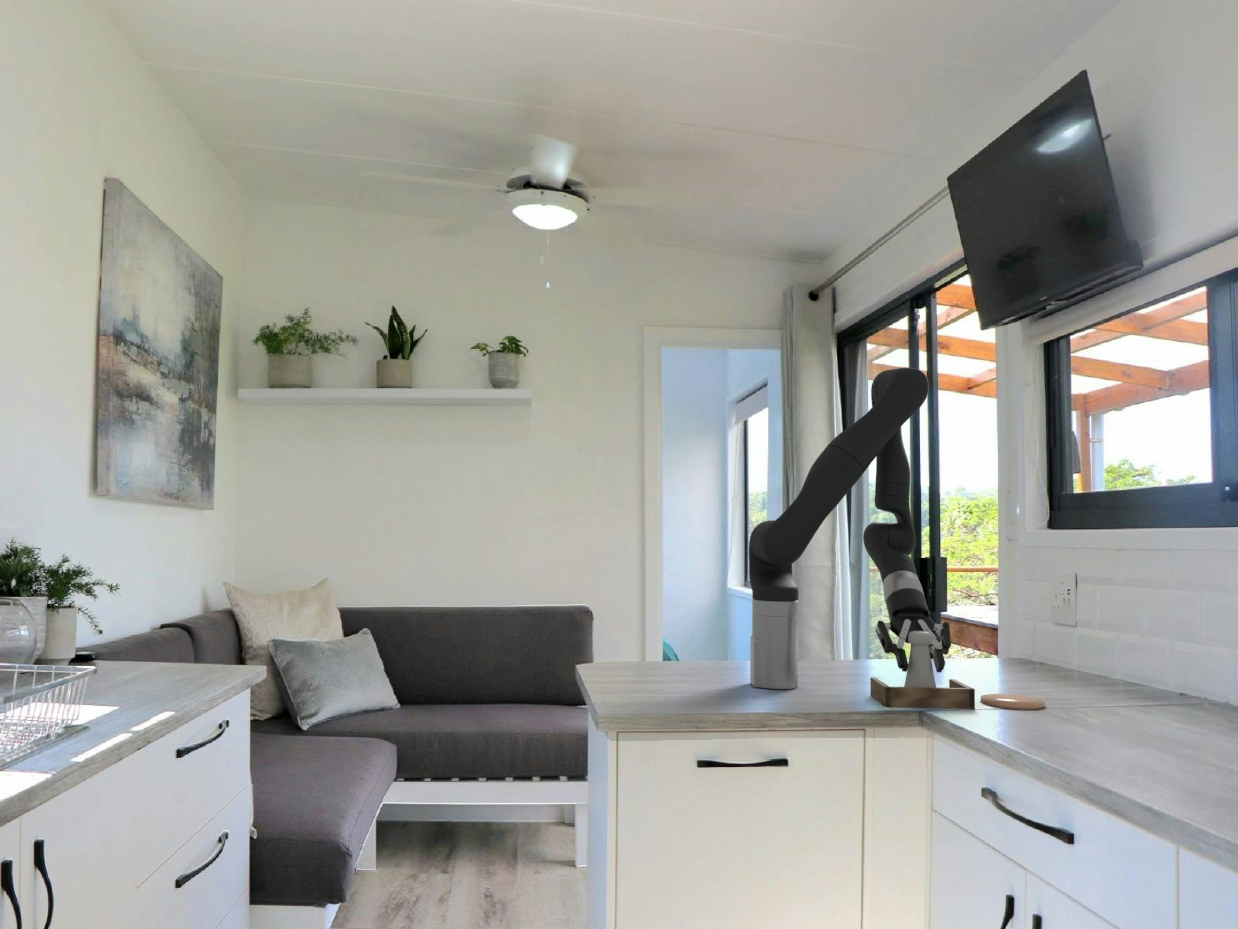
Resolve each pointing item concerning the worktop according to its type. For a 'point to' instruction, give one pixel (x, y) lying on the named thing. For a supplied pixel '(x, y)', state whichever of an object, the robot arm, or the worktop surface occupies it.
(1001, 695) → the trivet
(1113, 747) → the worktop surface
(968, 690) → the tray
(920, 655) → the salt shaker
